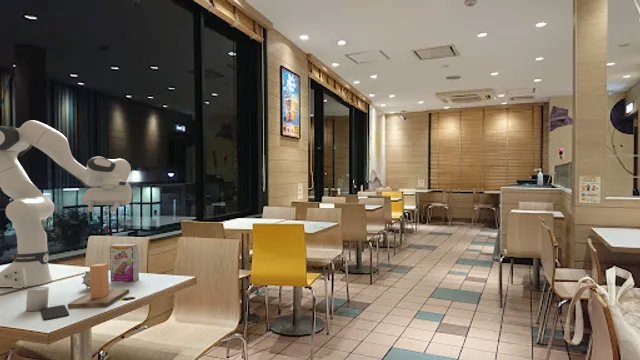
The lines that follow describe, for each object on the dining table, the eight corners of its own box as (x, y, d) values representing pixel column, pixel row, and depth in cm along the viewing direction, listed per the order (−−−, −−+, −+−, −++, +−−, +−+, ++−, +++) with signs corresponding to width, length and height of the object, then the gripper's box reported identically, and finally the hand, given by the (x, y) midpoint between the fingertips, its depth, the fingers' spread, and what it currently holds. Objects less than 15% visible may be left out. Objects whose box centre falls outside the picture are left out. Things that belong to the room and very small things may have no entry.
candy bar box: (109, 281, 184) (109, 245, 184) (116, 279, 189) (115, 243, 189) (133, 282, 183) (132, 245, 183) (139, 279, 188) (138, 243, 188)
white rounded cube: (32, 312, 142) (33, 291, 143) (22, 309, 145) (23, 289, 145) (51, 307, 148) (52, 288, 148) (41, 304, 151) (42, 286, 151)
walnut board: (67, 307, 147) (67, 303, 147) (94, 293, 165) (93, 290, 165) (107, 306, 147) (107, 302, 147) (129, 292, 165) (128, 289, 165)
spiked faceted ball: (90, 298, 172) (74, 282, 167) (90, 286, 179) (75, 271, 174) (110, 286, 174) (95, 270, 169) (109, 275, 181) (95, 260, 176)
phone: (64, 304, 150) (69, 314, 138) (64, 306, 150) (69, 316, 138) (40, 308, 146) (43, 319, 134) (40, 311, 146) (43, 321, 134)
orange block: (90, 298, 154) (89, 266, 154) (96, 294, 158) (96, 263, 158) (103, 297, 154) (102, 266, 154) (108, 294, 158) (108, 263, 158)
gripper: (86, 182, 183) (73, 205, 173) (132, 183, 183) (121, 206, 173) (91, 192, 187) (79, 215, 177) (136, 192, 188) (126, 215, 178)
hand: (100, 210), depth 175 cm, fingers open, 8 cm apart
